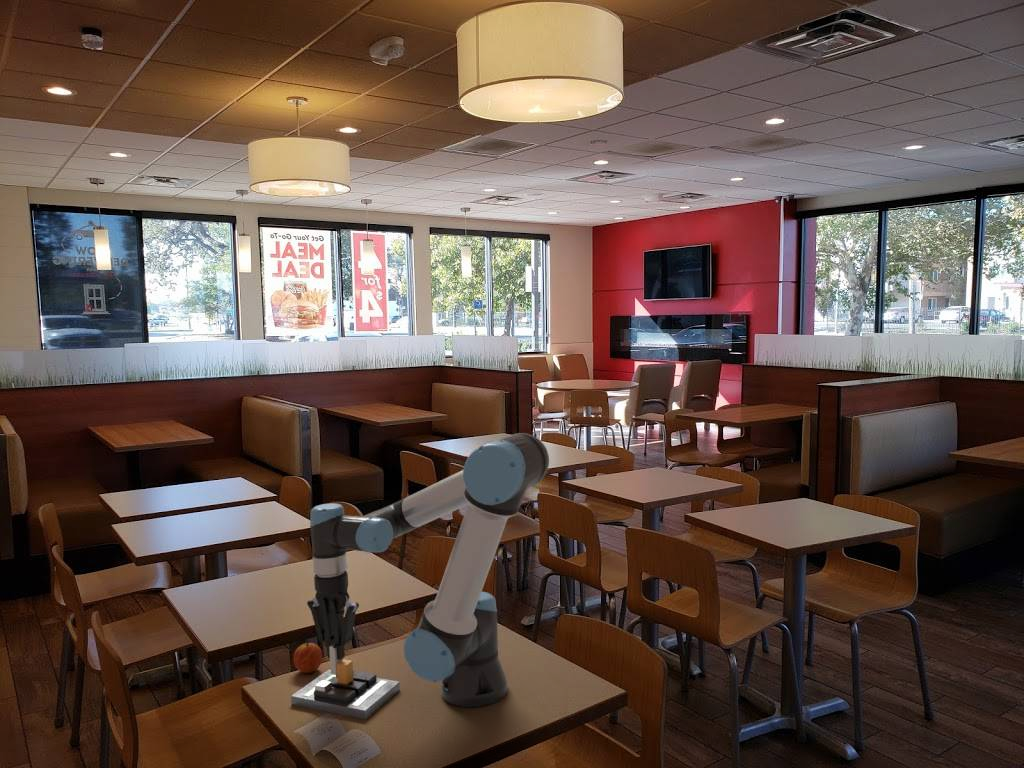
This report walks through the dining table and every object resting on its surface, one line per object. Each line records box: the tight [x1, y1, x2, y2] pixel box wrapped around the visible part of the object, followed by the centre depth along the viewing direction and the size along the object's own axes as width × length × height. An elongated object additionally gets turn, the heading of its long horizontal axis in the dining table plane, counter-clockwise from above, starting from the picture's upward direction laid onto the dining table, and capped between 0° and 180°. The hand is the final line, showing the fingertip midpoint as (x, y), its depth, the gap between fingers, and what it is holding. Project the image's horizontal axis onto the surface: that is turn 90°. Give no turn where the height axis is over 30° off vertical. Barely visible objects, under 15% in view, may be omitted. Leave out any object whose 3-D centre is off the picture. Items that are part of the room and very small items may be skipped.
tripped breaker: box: [336, 658, 354, 685], centre depth 173 cm, size 3×3×4 cm
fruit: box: [293, 640, 323, 674], centre depth 187 cm, size 7×7×8 cm
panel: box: [290, 668, 401, 720], centre depth 173 cm, size 20×14×5 cm
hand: (337, 671), depth 173 cm, fingers closed
